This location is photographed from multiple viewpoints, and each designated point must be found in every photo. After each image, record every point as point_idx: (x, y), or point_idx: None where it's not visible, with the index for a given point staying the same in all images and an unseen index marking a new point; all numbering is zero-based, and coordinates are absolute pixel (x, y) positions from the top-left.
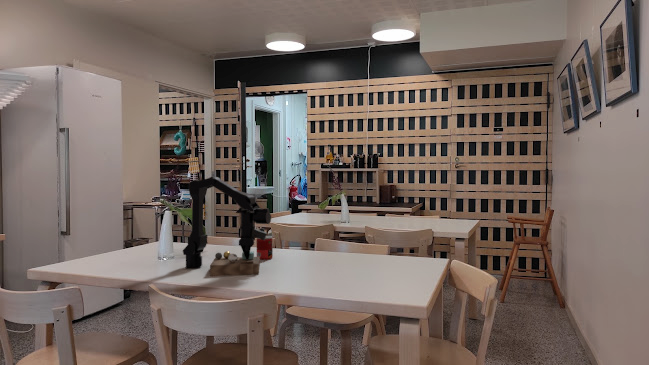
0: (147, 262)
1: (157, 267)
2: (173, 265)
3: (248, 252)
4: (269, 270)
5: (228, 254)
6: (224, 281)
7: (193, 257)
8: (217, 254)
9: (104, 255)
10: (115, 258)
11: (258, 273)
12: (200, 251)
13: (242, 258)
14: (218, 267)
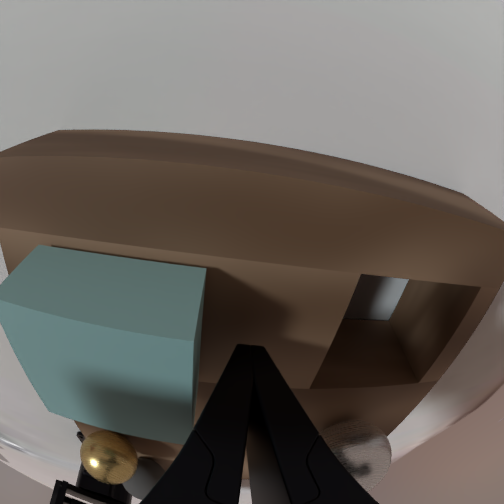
0: (63, 473)
1: None
2: None
3: (308, 436)
4: (326, 37)
5: (128, 465)
6: (474, 368)
7: (130, 494)
8: None
9: (25, 474)
10: (42, 478)
11: (467, 198)
12: (78, 493)
13: (197, 389)
14: None
